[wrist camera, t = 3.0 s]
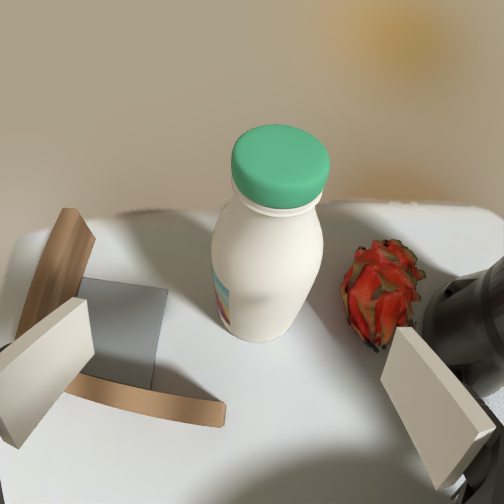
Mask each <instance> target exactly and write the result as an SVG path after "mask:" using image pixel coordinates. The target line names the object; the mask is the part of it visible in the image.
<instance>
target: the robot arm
mask: <svg viewBox="0 0 504 504" xmlns="http://www.w3.org/2000/svg"><path fill="white" fill-rule="evenodd" d="M94 354H95V353H94V347H93V341H92V335H91V329H90V322H89V315H88V307H87V300H86V299H81V298H75V297H72V298H71V299H69V300H68V301H67V302H65V303H64V304H62V305H61V306H60V307H58V308H57V309H56V310H54V311H53V312H52V313H50V314H49V315H48V316H46V317H45V318H44V319H42V320H41V321H40V322H38V323H37V324H36V325H34V326H33V327H32V328H31V329H29V330H28V331H27V332H25V333H24V334H23V335H22V336H20V337H19V338H18V339H17V340H15V341H14V342H12V343H10V344H7V345H5V346H3V347H2V348H0V436H1V438H2V439H3V441H5V442H6V443H8V444H10V445H11V446H13V447H15V448H17V449H19V448H20V447H21V446H22V444H23V443H24V442H25V440H26V439H27V438H28V436H29V435H30V434H31V432H32V431H33V430H34V428H35V427H36V426H37V425H38V423H39V422H40V421H41V419H42V418H43V417H44V415H45V414H46V413H47V412H48V410H49V409H50V408H51V407H52V405H53V404H54V403H55V401H56V400H57V399H58V398H59V396H60V395H61V394H62V393H63V391H64V390H65V389H66V388H67V387H68V385H69V384H70V383H71V382H72V380H73V379H74V378H75V377H76V376H77V374H78V373H79V372H80V371H81V369H82V368H83V367H84V366H85V365H86V363H87V362H88V361H89V360H90V359H91V358H92V356H93V355H94ZM380 380H381V382H382V384H383V386H384V388H385V390H386V392H387V393H388V395H389V397H390V399H391V401H392V403H393V405H394V407H395V409H396V411H397V412H398V414H399V416H400V418H401V420H402V422H403V424H404V426H405V428H406V430H407V432H408V434H409V436H410V438H411V440H412V442H413V444H414V446H415V448H416V450H417V452H418V454H419V456H420V458H421V460H422V462H423V464H424V466H425V468H426V471H427V473H428V475H429V477H430V479H431V481H432V483H433V485H434V488H435V490H439V489H443V488H446V487H449V486H451V485H454V484H455V483H456V481H457V480H458V479H459V478H460V477H461V475H462V474H464V476H465V478H466V480H465V482H464V483H463V484H462V485H461V486H460V487H459V489H458V490H457V491H456V492H455V493H454V494H453V495H452V497H451V500H453V499H454V498H455V497H456V496H457V495H458V494H459V496H458V499H457V502H456V504H504V426H503V425H502V423H501V422H500V421H499V420H498V418H497V417H496V416H495V415H494V413H493V412H492V411H491V410H490V409H489V407H488V406H487V405H486V406H485V403H484V401H483V400H482V399H480V398H483V397H487V396H489V395H491V394H493V393H495V392H496V391H498V390H499V389H500V388H502V387H503V386H504V256H503V257H502V258H501V259H500V260H499V261H497V262H496V263H495V264H494V265H493V266H492V267H490V268H489V269H487V270H483V271H480V272H476V273H472V274H469V275H465V276H461V277H458V278H456V279H454V280H452V281H450V282H449V283H448V284H447V285H445V286H444V287H443V288H442V289H440V290H439V291H438V292H437V293H436V294H435V295H434V297H433V298H432V300H431V301H430V303H429V305H428V308H427V310H426V313H425V317H424V323H423V339H422V338H421V337H420V336H419V335H418V333H417V332H416V331H415V330H414V329H413V328H412V327H397V328H396V331H395V335H394V338H393V342H392V345H391V348H390V351H389V355H388V358H387V361H386V364H385V367H384V370H383V373H382V376H381V378H380ZM0 504H5V503H4V498H3V493H2V488H1V482H0Z"/></svg>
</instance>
